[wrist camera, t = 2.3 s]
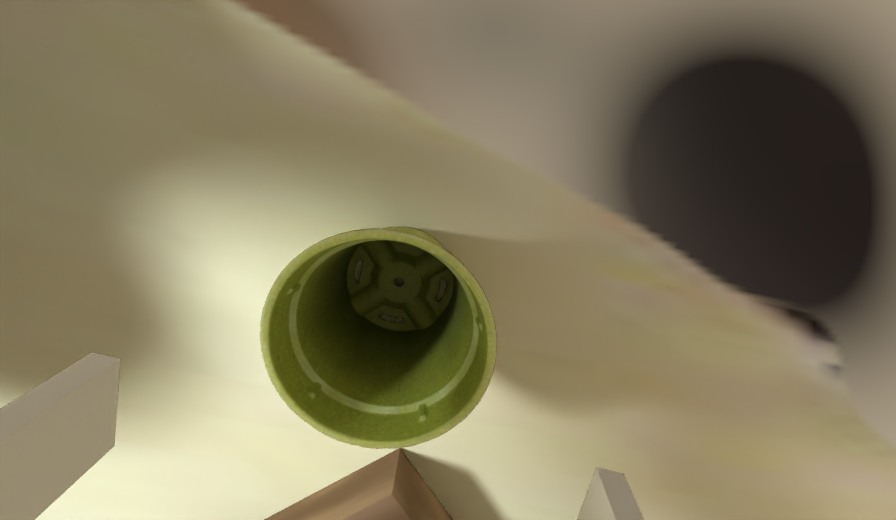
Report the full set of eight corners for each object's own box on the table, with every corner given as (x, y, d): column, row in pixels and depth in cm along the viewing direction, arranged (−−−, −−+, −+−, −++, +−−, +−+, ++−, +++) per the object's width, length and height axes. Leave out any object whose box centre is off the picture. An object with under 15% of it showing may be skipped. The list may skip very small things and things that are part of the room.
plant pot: (503, 214, 27) (522, 257, 19) (467, 370, 30) (469, 468, 22) (330, 179, 27) (272, 207, 19) (308, 339, 30) (248, 427, 21)
